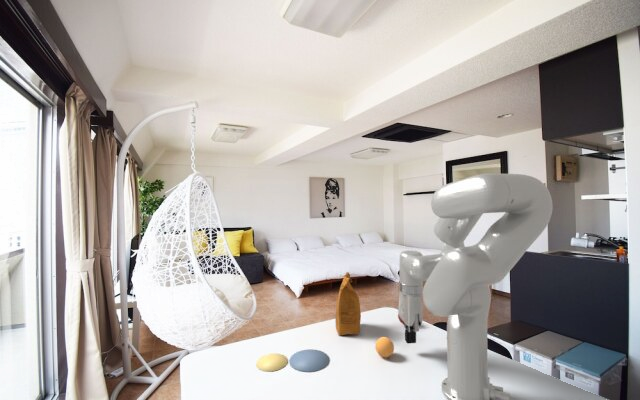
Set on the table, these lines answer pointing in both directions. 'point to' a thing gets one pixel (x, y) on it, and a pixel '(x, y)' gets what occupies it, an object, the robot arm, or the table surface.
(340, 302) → the coffee package
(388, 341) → the ball
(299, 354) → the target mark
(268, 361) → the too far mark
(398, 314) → the onion
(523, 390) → the table surface
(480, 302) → the robot arm
